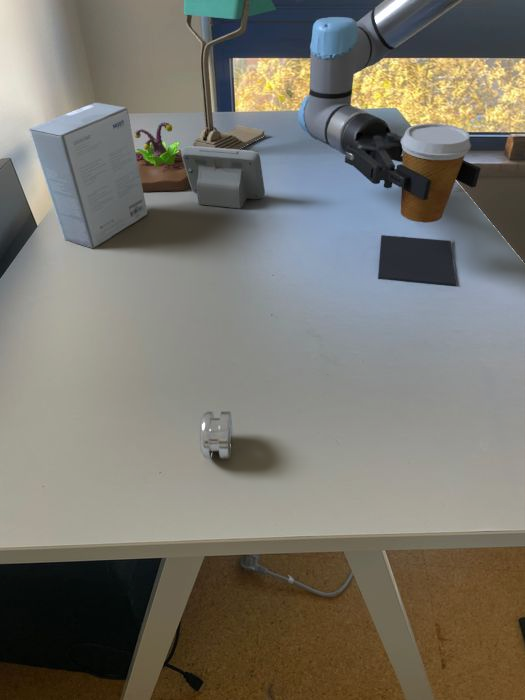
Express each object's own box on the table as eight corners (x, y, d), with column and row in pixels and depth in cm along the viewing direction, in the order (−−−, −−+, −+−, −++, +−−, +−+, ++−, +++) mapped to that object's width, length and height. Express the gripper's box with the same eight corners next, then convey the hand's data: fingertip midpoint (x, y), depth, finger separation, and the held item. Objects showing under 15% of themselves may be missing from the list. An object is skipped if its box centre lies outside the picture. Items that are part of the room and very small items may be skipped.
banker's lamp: (179, 151, 128) (158, -23, 105) (230, 128, 140) (221, -32, 118) (230, 164, 121) (219, -20, 98) (279, 138, 133) (279, -29, 111)
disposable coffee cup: (450, 202, 82) (468, 123, 74) (456, 230, 75) (477, 146, 67) (389, 198, 84) (401, 121, 76) (390, 226, 77) (403, 143, 69)
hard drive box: (119, 206, 104) (97, 101, 91) (149, 215, 101) (130, 107, 88) (61, 240, 94) (27, 126, 81) (92, 250, 91) (62, 134, 78)
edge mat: (450, 242, 91) (450, 240, 91) (455, 286, 80) (456, 284, 80) (381, 236, 93) (381, 234, 93) (378, 278, 83) (378, 276, 82)
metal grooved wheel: (229, 468, 55) (226, 437, 52) (201, 467, 55) (197, 437, 52) (232, 432, 59) (230, 401, 56) (206, 431, 59) (202, 401, 56)
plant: (193, 195, 108) (187, 140, 100) (106, 190, 111) (94, 136, 103) (216, 160, 123) (213, 110, 115) (139, 156, 125) (130, 107, 118)
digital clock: (269, 197, 106) (268, 145, 99) (248, 215, 100) (246, 161, 93) (202, 184, 112) (197, 134, 105) (179, 200, 106) (172, 148, 99)
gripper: (405, 147, 93) (500, 194, 78) (304, 169, 86) (387, 225, 71) (412, 103, 88) (515, 143, 73) (306, 122, 82) (395, 171, 66)
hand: (452, 183), depth 72 cm, fingers closed on disposable coffee cup, 8 cm apart
